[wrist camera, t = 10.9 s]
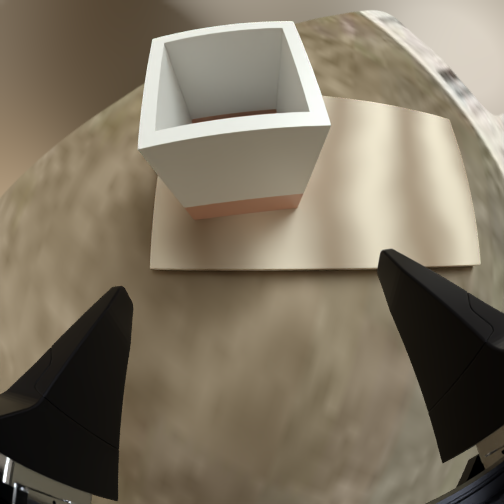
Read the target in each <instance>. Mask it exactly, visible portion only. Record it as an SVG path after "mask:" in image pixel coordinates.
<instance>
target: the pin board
mask: <svg viewBox="0 0 504 504" xmlns="http://www.w3.org/2000/svg"><path fill="white" fill-rule="evenodd" d="M322 98H323V101H324V104H325V107H326V110H327V113H328V117H329V120H330V123H331V127H330V130H329V132H328V135H327V137H326V140H325V142H324V145H323V147H322V150H321V152H320V155H319V157H318V159H317V162H316V164H315V167H314V169H313V172H312V174H311V177H310V179H309V181H308V184H307V186H306V189H305V191H304V194H303V196H302V198H301V201H300V203H299V206H298V208H292V209H282V210H273V211H264V212H255V213H247V214H238V215H230V216H222V217H215V218H207V219H200V220H194V219H193V218H192V217H191V216H190V214H189V213H188V212H187V211H186V209H185V208H184V207H183V206H182V204H181V203H180V202H179V201H178V199H177V198H176V197H175V196H174V195H173V193H172V192H171V191H170V190H169V188H168V187H167V186H166V185H165V183H164V182H163V181H162V180H161V178H160V177H159V176H158V177H157V185H156V193H155V203H154V213H153V225H152V238H151V255H150V268H151V269H154V270H223V271H272V270H358V269H377V268H378V262H379V256H380V252H381V251H382V250H384V249H394V250H396V251H398V252H399V253H401V254H403V255H405V256H407V257H409V258H410V259H412V260H414V261H416V262H418V263H419V264H421V265H423V266H425V267H426V268H432V267H459V266H475V265H480V264H481V262H480V251H479V241H478V233H477V226H476V220H475V214H474V208H473V203H472V198H471V193H470V188H469V184H468V180H467V175H466V172H465V168H464V164H463V160H462V157H461V153H460V150H459V147H458V143H457V140H456V137H455V134H454V131H453V128H452V126H451V123H450V120H449V119H446V118H443V117H439V116H436V115H432V114H428V113H424V112H420V111H415V110H411V109H407V108H402V107H397V106H392V105H386V104H381V103H375V102H369V101H362V100H355V99H347V98H338V97H328V96H322Z"/></svg>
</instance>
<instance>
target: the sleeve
mask: <svg viewBox="0 0 504 504" xmlns="http://www.w3.org/2000/svg"><path fill="white" fill-rule="evenodd" d="M330 127H331V123H330V120H329V117H328V113H327V110H326V107H325V104H324V101H323V98H322V95H321V92H320V89H319V86H318V83H317V80H316V78H315V75H314V72H313V69H312V67H311V64H310V61H309V59H308V56H307V54H306V51H305V49H304V46H303V44H302V41H301V39H300V36H299V34H298V32H297V29H296V27H295V25H294V23H293V21H278V22H277V21H276V22H256V23H255V22H254V23H242V24H231V25H223V26H215V27H208V28H202V29H196V30H191V31H186V32H181V33H176V34H172V35H167V36H163V37H159V38H156V39H153V40H152V45H151V50H150V55H149V62H148V67H147V73H146V79H145V86H144V93H143V100H142V109H141V118H140V128H139V139H138V150H139V152H140V153H141V154H142V155H143V157H144V158H145V159H146V161H147V162H148V163H149V164H150V166H151V167H152V168H153V169H154V171H155V172H156V173H157V174H158V176H159V177H160V178H161V180H162V181H163V182H164V183H165V185H166V186H167V187H168V188H169V190H170V191H171V192H172V193H173V195H174V196H175V197H176V198H177V199H178V201H179V202H180V203H181V204H182V206H183V207H184V208H185V209H186V211H187V212H188V213H189V214H190V216H191V217H192V218H193V219H194V220H200V219H207V218H215V217H222V216H230V215H238V214H247V213H255V212H264V211H273V210H282V209H292V208H298V206H299V203H300V201H301V198H302V196H303V194H304V191H305V189H306V186H307V184H308V181H309V179H310V177H311V174H312V172H313V169H314V167H315V164H316V162H317V159H318V157H319V155H320V152H321V150H322V147H323V145H324V142H325V140H326V137H327V135H328V132H329V130H330Z"/></svg>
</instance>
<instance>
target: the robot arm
mask: <svg viewBox="0 0 504 504" xmlns="http://www.w3.org/2000/svg"><path fill="white" fill-rule="evenodd" d="M377 273H378V277H379V280H380V283H381V285H382V288H383V291H384V294H385V297H386V301H387V304H388V307H389V309H390V312H391V315H392V317H393V319H394V321H395V324H396V326H397V329H398V331H399V333H400V336H401V338H402V341H403V343H404V345H405V348H406V351H407V353H408V356H409V358H410V361H411V363H412V366H413V369H414V371H415V374H416V377H417V380H418V383H419V385H420V388H421V391H422V394H423V397H424V400H425V403H426V406H427V410H428V412H429V416H430V420H431V423H432V427H433V430H434V434H435V437H436V441H437V445H438V448H439V452H440V456H441V460H442V463H444V462H446V461H448V460H450V459H452V458H454V457H456V456H457V455H459V454H461V453H463V452H465V451H466V450H468V449H470V448H471V447H473V446H475V445H476V447H477V450H478V453H479V454H477V455H476V456H474V457H473V458H471V459H469V460H468V463H467V465H466V467H465V470H464V472H463V474H462V477H461V479H460V481H459V483H458V485H457V487H456V488H455V489H453V490H451V491H450V492H448V493H446V494H444V495H442V496H440V497H438V498H436V499H434V500H432V501H430V502H428V503H426V504H504V313H502V312H500V311H499V310H497V309H495V308H493V307H491V306H490V305H488V304H486V303H485V302H483V301H481V300H480V299H478V298H476V297H475V296H473V295H472V294H470V293H467V291H465V290H464V289H462V288H460V287H459V286H457V285H455V284H454V283H452V282H450V281H449V280H447V279H445V278H444V277H442V276H440V275H439V274H437V273H435V272H433V271H432V270H430V269H428V268H426V267H425V266H423V265H421V264H419V263H418V262H416V261H414V260H412V259H410V258H409V257H407V256H405V255H403V254H401V253H399V252H398V251H396V250H394V249H384V250H382V251H381V252H380V256H379V262H378V268H377ZM132 317H133V304H132V301H131V299H130V297H129V295H128V293H127V291H126V289H125V288H124V287H123V286H115V287H112V288H111V289H110V290H109V291H108V292H107V293H105V294H104V295H103V296H102V297H101V298H100V299H99V300H98V301H97V302H96V303H95V304H94V305H93V306H92V307H91V308H90V309H89V310H87V311H86V312H85V313H84V314H83V315H82V316H81V317H80V318H79V319H78V320H77V321H76V322H75V323H74V324H73V325H72V326H71V327H70V328H69V329H68V330H67V331H66V332H65V333H64V334H63V335H62V336H61V337H60V338H59V339H58V340H57V341H56V342H55V343H54V344H53V345H52V348H50V349H49V350H48V351H47V352H46V353H45V354H44V355H43V356H42V357H41V358H40V359H39V360H38V361H37V362H36V363H35V364H34V365H33V366H32V367H31V368H30V369H29V370H28V371H27V372H26V373H25V374H24V375H23V376H22V377H20V378H19V379H18V380H17V381H16V382H15V383H14V384H13V385H12V386H11V387H10V388H9V389H8V390H7V391H5V392H4V393H2V394H0V504H91V501H92V495H96V496H99V497H103V498H106V499H110V500H114V501H118V463H119V450H118V449H119V439H120V425H121V414H122V404H123V395H124V386H125V378H126V371H127V364H128V358H129V351H130V344H131V330H132Z"/></svg>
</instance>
